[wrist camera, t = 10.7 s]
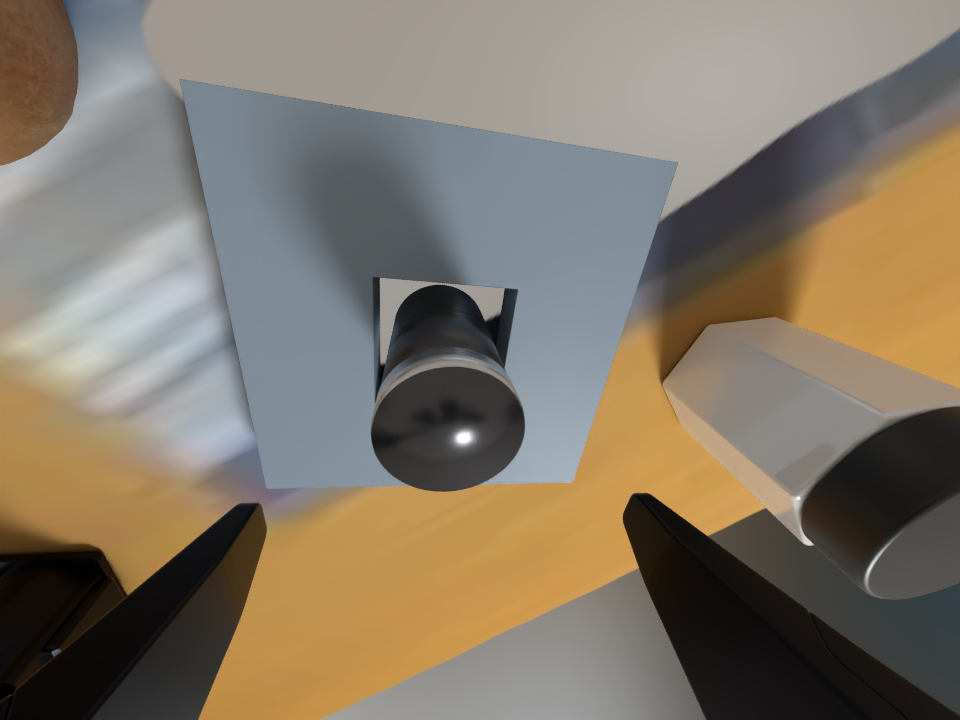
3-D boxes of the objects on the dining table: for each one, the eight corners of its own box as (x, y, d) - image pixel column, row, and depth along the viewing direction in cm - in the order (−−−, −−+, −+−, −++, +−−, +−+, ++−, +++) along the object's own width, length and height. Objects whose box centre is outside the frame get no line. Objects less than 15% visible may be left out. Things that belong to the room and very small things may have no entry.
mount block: (283, 456, 21) (266, 488, 19) (220, 96, 13) (179, 79, 11) (559, 455, 24) (572, 482, 22) (644, 165, 16) (678, 162, 14)
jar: (791, 386, 24) (1068, 541, 14) (686, 444, 26) (867, 627, 15) (770, 284, 20) (1140, 396, 10) (647, 359, 22) (857, 530, 11)
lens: (393, 366, 19) (371, 494, 11) (393, 280, 17) (367, 364, 9) (478, 369, 20) (513, 490, 12) (489, 288, 18) (540, 371, 10)
